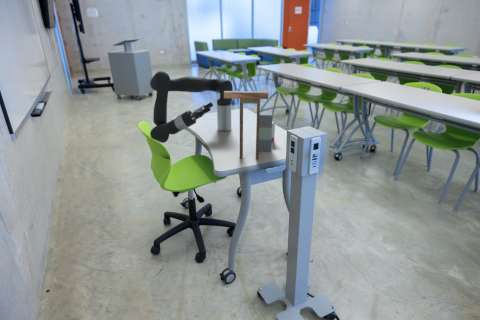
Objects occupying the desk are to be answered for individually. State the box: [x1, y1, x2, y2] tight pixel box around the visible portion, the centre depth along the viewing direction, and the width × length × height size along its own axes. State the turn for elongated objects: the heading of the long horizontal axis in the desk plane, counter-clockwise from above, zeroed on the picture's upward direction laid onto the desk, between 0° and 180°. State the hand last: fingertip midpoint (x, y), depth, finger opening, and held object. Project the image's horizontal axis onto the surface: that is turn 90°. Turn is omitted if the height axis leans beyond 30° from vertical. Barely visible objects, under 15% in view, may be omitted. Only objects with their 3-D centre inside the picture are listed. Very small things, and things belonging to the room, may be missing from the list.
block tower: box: [259, 111, 273, 152], centre depth 173 cm, size 6×8×21 cm
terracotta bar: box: [224, 90, 269, 100], centre depth 154 cm, size 3×22×3 cm, turn 87°
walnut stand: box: [239, 99, 261, 160], centre depth 161 cm, size 6×10×32 cm, turn 87°
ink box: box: [271, 120, 276, 143], centre depth 188 cm, size 9×5×12 cm, turn 100°
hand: (211, 106), depth 158 cm, fingers open, 8 cm apart
